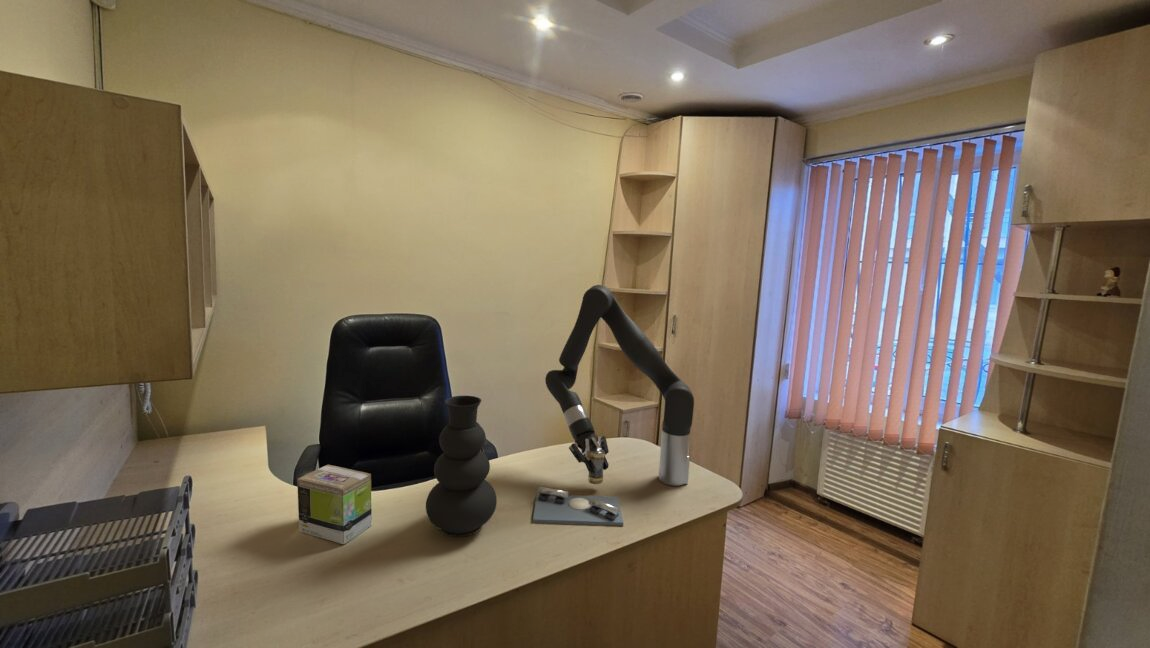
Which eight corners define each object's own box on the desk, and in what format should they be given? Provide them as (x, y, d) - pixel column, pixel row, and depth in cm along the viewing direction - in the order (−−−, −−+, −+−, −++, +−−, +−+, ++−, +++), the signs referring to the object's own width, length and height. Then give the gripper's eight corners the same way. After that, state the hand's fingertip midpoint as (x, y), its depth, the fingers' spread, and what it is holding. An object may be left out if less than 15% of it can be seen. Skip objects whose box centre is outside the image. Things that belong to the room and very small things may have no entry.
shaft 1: (568, 502, 141) (569, 489, 140) (565, 508, 137) (566, 494, 137) (540, 497, 143) (540, 484, 142) (536, 503, 140) (537, 489, 139)
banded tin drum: (602, 477, 151) (603, 447, 150) (603, 484, 147) (604, 454, 145) (587, 476, 151) (588, 447, 150) (588, 484, 147) (589, 453, 145)
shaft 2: (586, 514, 135) (587, 500, 134) (593, 508, 138) (593, 495, 137) (613, 525, 130) (614, 510, 129) (619, 519, 133) (620, 505, 132)
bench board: (618, 500, 143) (618, 496, 143) (623, 525, 130) (623, 521, 129) (536, 497, 143) (536, 493, 143) (533, 522, 129) (533, 518, 129)
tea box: (373, 525, 125) (372, 472, 123) (343, 546, 115) (342, 490, 113) (329, 513, 129) (328, 462, 127) (297, 532, 120) (295, 478, 118)
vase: (423, 513, 131) (423, 392, 126) (489, 504, 138) (491, 389, 133) (428, 553, 114) (428, 414, 109) (502, 540, 121) (506, 409, 116)
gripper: (565, 420, 148) (587, 471, 140) (600, 413, 157) (623, 460, 149) (555, 431, 153) (576, 481, 145) (590, 423, 162) (611, 470, 154)
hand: (599, 470), depth 147 cm, fingers closed on banded tin drum, 4 cm apart
